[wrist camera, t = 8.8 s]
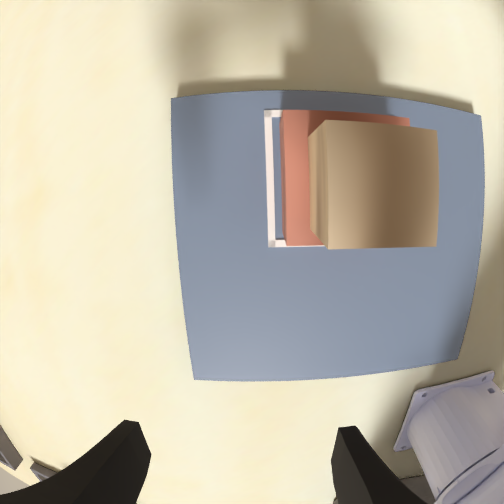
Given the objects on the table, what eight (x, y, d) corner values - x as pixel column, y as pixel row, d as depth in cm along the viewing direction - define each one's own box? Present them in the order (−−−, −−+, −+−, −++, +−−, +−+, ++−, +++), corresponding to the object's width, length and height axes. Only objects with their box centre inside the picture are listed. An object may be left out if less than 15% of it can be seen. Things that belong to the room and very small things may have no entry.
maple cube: (392, 141, 12) (437, 130, 8) (393, 227, 13) (436, 246, 9) (307, 137, 12) (325, 119, 8) (310, 228, 13) (327, 249, 9)
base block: (383, 128, 15) (409, 118, 12) (384, 231, 16) (409, 243, 13) (279, 124, 15) (282, 109, 12) (282, 232, 17) (286, 246, 13)
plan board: (472, 117, 15) (481, 115, 14) (451, 353, 19) (457, 359, 18) (175, 102, 16) (170, 97, 15) (196, 371, 20) (193, 380, 19)
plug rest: (131, 497, 26) (128, 505, 25) (154, 529, 29) (152, 535, 28) (34, 462, 27) (29, 468, 26) (64, 500, 30) (61, 505, 28)
